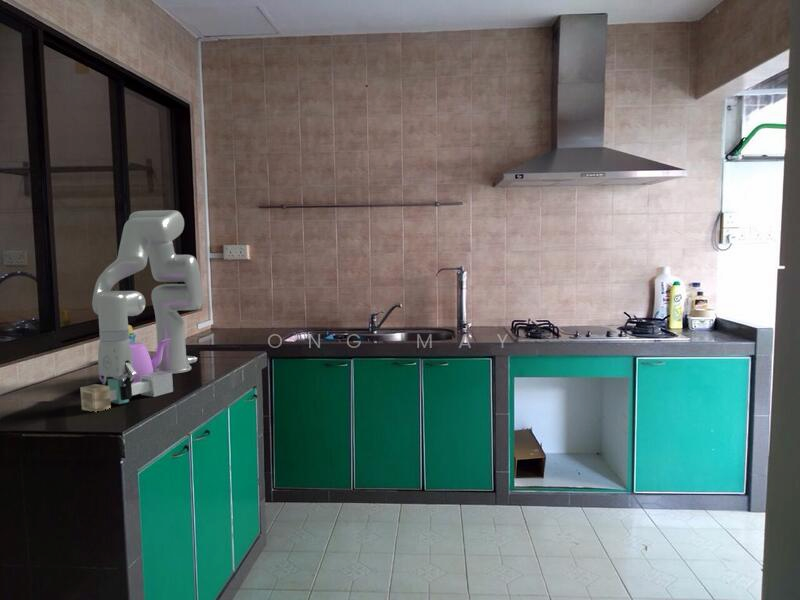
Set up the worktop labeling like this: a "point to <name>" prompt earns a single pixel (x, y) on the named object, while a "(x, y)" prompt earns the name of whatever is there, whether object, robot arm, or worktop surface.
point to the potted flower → (131, 334)
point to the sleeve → (158, 383)
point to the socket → (95, 397)
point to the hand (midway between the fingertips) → (118, 397)
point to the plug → (136, 387)
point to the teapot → (144, 359)
